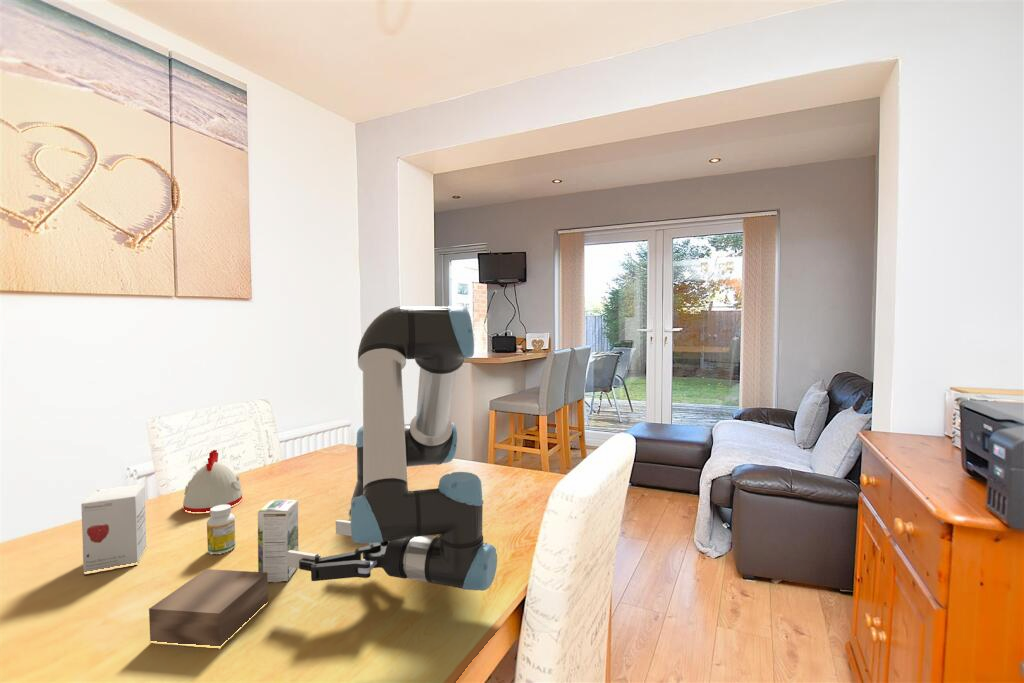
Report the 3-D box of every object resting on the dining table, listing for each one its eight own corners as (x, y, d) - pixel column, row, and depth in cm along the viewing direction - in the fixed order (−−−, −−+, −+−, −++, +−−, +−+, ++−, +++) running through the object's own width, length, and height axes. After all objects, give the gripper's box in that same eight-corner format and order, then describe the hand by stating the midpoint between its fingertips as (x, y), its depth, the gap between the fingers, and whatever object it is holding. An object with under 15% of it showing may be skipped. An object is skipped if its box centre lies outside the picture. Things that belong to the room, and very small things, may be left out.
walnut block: (150, 645, 75) (148, 608, 74) (207, 600, 87) (206, 569, 86) (220, 650, 73) (219, 613, 73) (268, 604, 85) (267, 572, 85)
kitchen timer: (247, 493, 140) (245, 443, 140) (235, 510, 127) (234, 456, 127) (193, 498, 136) (191, 447, 135) (175, 517, 123) (173, 461, 122)
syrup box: (270, 568, 97) (268, 499, 97) (299, 567, 98) (298, 498, 97) (257, 584, 91) (255, 510, 91) (289, 582, 92) (287, 509, 91)
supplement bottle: (233, 552, 104) (232, 510, 104) (205, 557, 102) (204, 514, 101) (237, 542, 109) (236, 501, 108) (210, 546, 107) (208, 505, 106)
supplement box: (81, 577, 94) (78, 503, 94) (96, 557, 102) (93, 489, 102) (138, 566, 98) (135, 495, 98) (148, 547, 106) (145, 482, 106)
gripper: (374, 617, 74) (264, 596, 80) (441, 545, 98) (353, 532, 104) (373, 571, 73) (263, 552, 79) (441, 509, 97) (353, 499, 103)
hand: (314, 541), depth 92 cm, fingers open, 13 cm apart
